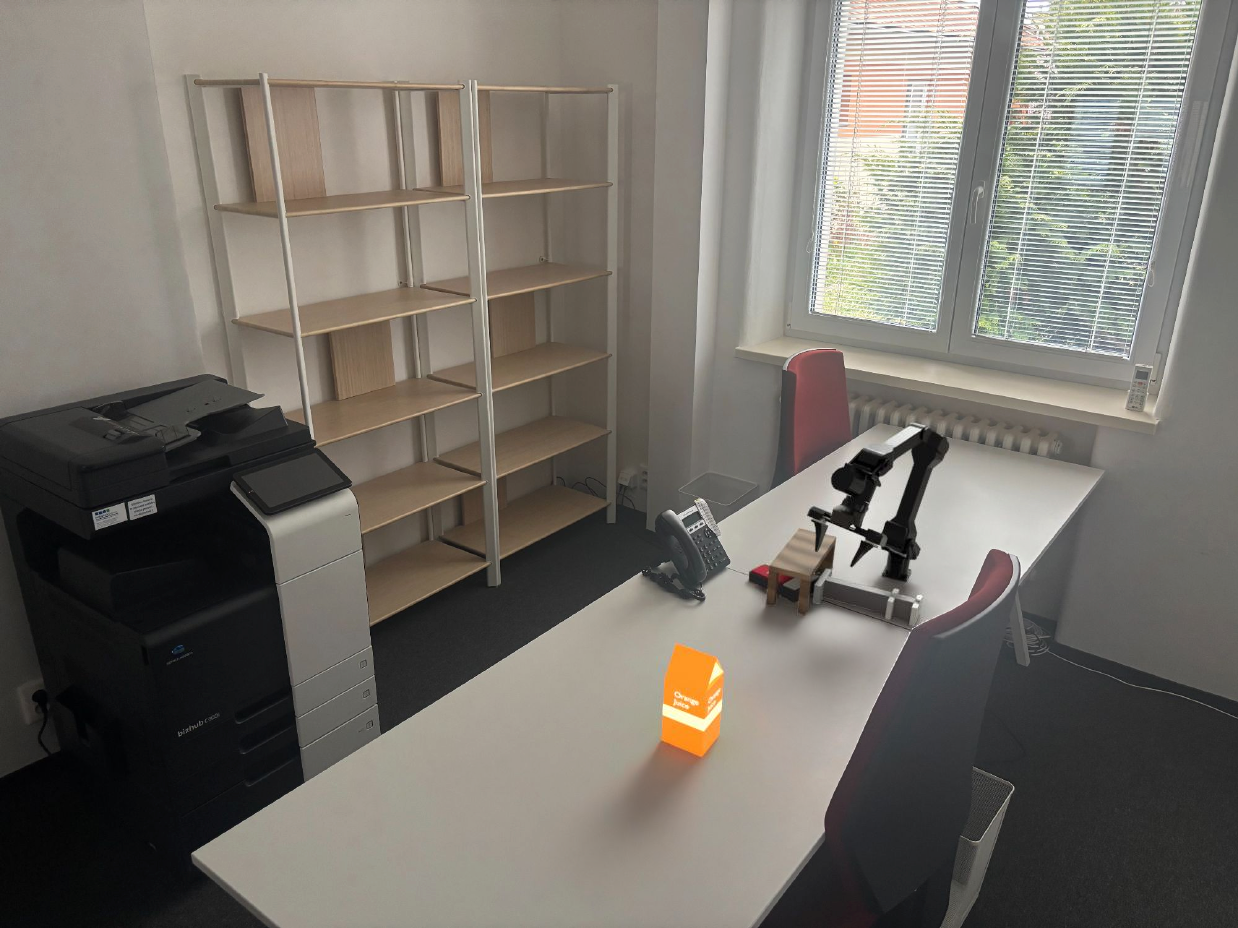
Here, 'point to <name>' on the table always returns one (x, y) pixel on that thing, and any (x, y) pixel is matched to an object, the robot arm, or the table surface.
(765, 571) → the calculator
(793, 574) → the wooden stool
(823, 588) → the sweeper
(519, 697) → the table surface
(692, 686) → the orange juice
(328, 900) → the table surface
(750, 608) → the table surface
